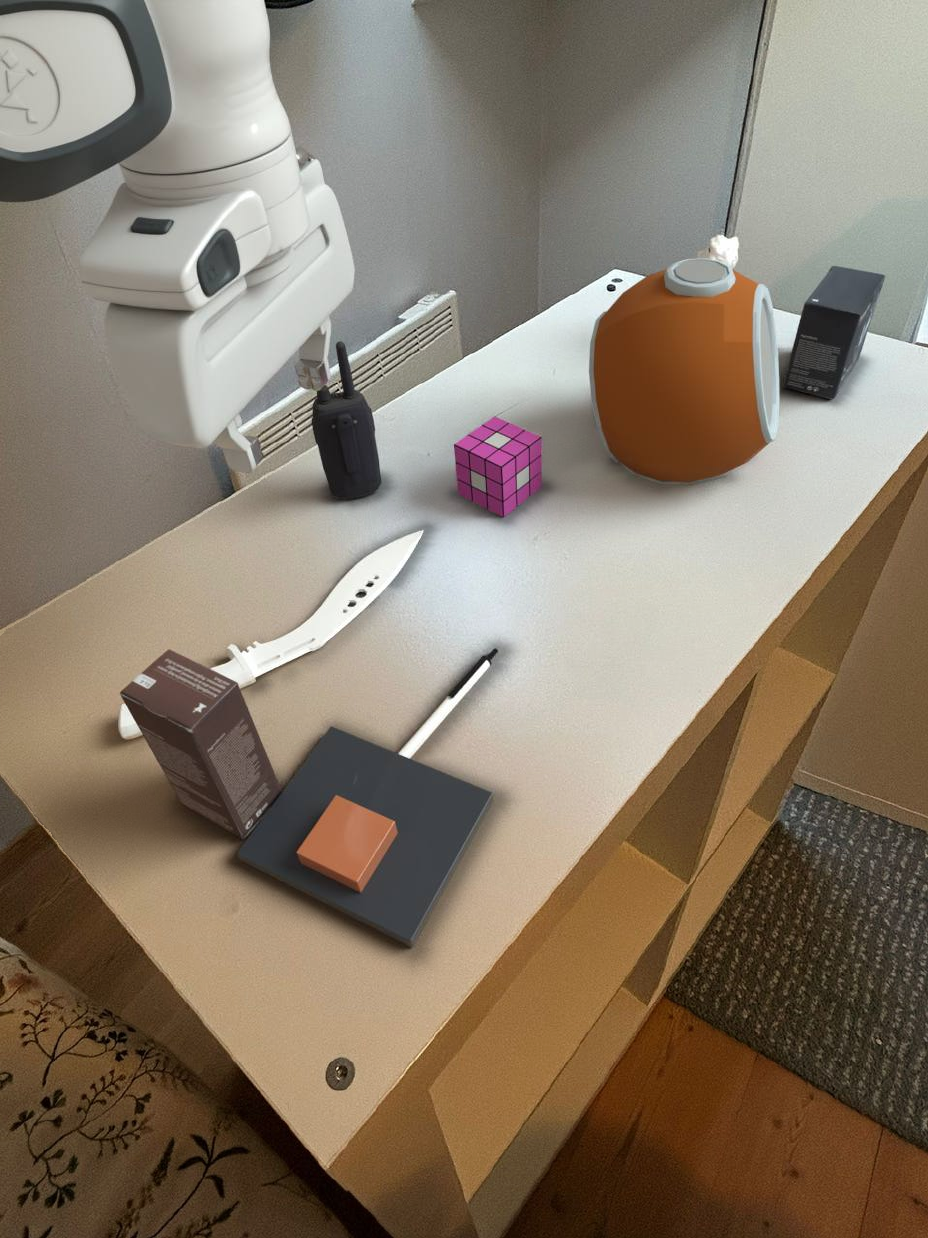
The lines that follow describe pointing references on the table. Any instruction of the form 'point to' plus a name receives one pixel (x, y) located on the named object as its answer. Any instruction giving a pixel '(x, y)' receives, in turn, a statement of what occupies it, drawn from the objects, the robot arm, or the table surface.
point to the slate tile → (395, 788)
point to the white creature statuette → (721, 250)
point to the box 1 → (204, 741)
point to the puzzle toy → (498, 465)
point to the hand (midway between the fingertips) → (283, 422)
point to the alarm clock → (686, 373)
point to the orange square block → (347, 843)
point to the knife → (310, 621)
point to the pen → (447, 705)
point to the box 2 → (832, 331)
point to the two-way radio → (346, 436)
